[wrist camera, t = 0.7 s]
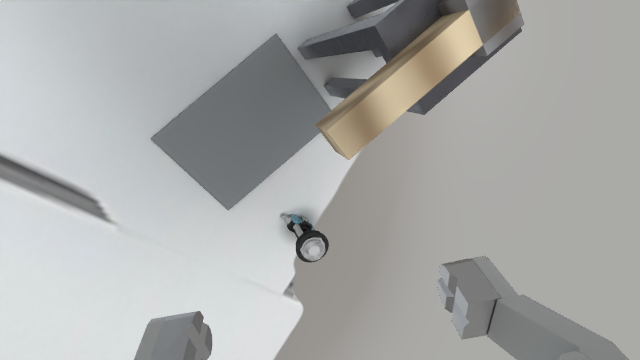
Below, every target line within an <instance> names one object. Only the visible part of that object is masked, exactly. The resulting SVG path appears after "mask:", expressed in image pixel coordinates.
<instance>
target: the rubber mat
mask: <svg viewBox="0 0 640 360" xmlns="http://www.w3.org/2000/svg"><path fill="white" fill-rule="evenodd" d="M330 111H331V109H330V108H329V107H328V105H327V104H326V102H325V101H324V100H323V98H322V97H321V95H320V94H319V93H318V91H317V90H316V88H315V87H314V86H313V84H312V83H311V81H310V80H309V79H308V77H307V76H306V74H305V73H304V72H303V70H302V69H301V67H300V66H299V65H298V63H297V62H296V60H295V59H294V58H293V56H292V55H291V53H290V52H289V51H288V49H287V48H286V46H285V45H284V44H283V42H282V41H281V39H280V38H279V37H278V35H277V34H275V35H274V36H273V37H272V38H270V39H269V40H268V41H267V42H266V43H264V44H263V45H262V46H261V47H260V48H259V49H257V50H256V51H255V52H254V53H253V54H251V55H250V56H249V57H248V58H247V59H245V60H244V61H243V62H242V63H241V64H239V65H238V66H237V67H236V68H235V69H233V70H232V71H231V72H230V73H229V74H227V75H226V76H225V77H224V78H223V79H222V80H220V81H219V82H218V83H217V84H216V85H214V86H213V87H212V88H211V89H210V90H208V91H207V92H206V93H205V94H204V95H202V96H201V97H200V98H199V99H198V100H196V101H195V102H194V103H193V104H192V105H190V106H189V107H188V108H187V109H186V110H185V111H183V112H182V113H181V114H180V115H179V116H177V117H176V118H175V119H174V120H173V121H171V122H170V123H169V124H168V125H167V126H165V127H164V128H163V129H162V130H161V131H159V132H158V133H157V134H156V135H155V136H153V137H152V138H151V140H152V141H153V142H154V143H155V144H156V145H158V146H159V147H160V148H161V149H162V150H163V151H164V152H165V153H166V154H167V155H168V156H169V157H171V158H172V159H173V160H174V161H175V162H176V163H177V164H178V165H179V166H180V167H181V168H183V169H184V170H185V171H186V172H187V173H188V174H189V175H190V176H191V177H192V178H193V179H194V180H196V181H197V182H198V183H199V184H200V185H201V186H202V187H203V188H204V189H205V190H206V191H208V192H209V193H210V194H211V195H212V196H213V197H214V198H215V199H216V200H217V201H218V202H219V203H221V204H222V205H223V206H224V207H225V208H226V209H227V210H229V209H231V208H232V207H233V206H234V205H235V204H237V203H238V202H239V201H240V200H241V199H242V198H244V197H245V196H246V195H247V194H248V193H249V192H251V191H252V190H253V189H254V188H255V187H256V186H258V185H259V184H260V183H261V182H262V181H264V180H265V179H266V178H267V177H268V176H269V175H271V174H272V173H273V172H274V171H275V170H276V169H278V168H279V167H280V166H281V165H282V164H283V163H285V162H286V161H287V160H288V159H289V158H290V157H292V156H293V155H294V154H295V153H296V152H298V151H299V150H300V149H301V148H302V147H303V146H305V145H306V144H307V143H308V142H309V141H310V140H312V139H313V138H314V137H315V136H316V135H317V134H319V133H320V130H319V129H318V128H317V126H316V125H315V124H316V123H318V122H319V121H320V120H321V119H322V118H323V117H325V116H326V115H327V114H328V113H329V112H330Z"/></svg>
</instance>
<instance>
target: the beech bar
mask: <svg viewBox="0 0 640 360" xmlns="http://www.w3.org/2000/svg"><path fill="white" fill-rule="evenodd" d="M438 7H439V9H440V11H441V14H442V17H441V18H440V19H439V20H437V21H436V22H435V23H434V24H433V25H432V26H430V27H429V28H428V29H427V30H426V31H425V32H423V33H422V34H421V35H420V36H419V37H417V38H416V39H415V40H414V41H413V42H412V43H410V44H409V45H408V46H407V47H406V48H405V49H403V50H402V51H401V52H400V53H399V54H397V55H396V56H395V57H394V58H393V59H392V60H390V61H389V62H388V63H387V64H386V65H385V66H383V67H382V68H381V69H380V70H379V71H377V72H376V73H375V74H374V75H373V76H372V77H370V78H369V79H368V80H367V81H366V82H365V83H363V84H362V85H361V86H360V87H359V88H358V89H356V90H355V91H354V92H353V93H352V94H350V95H349V96H348V97H347V98H346V99H345V100H343V101H342V102H341V103H340V104H339V105H338V106H336V107H335V108H334V109H333V110H332V111H330V112H329V113H328V114H327V115H326V116H325V117H323V118H322V119H321V120H320V121H319V122H318V123H316V124H315V125H316V126H317V128H318V129H319V130H320V132H321V133H322V134H323V136H324V137H325V138H326V139H327V141H328V142H329V143H330V145H331V146H332V147H333V149H334V150H335V151H336V152H337V153H339V154H340V155H342V156H343V157H345V158H346V159H348V160H349V159H351V158H352V157H353V156H354V155H355V154H356V153H358V152H359V151H360V150H361V149H362V148H363V147H365V146H366V145H367V144H368V143H369V142H370V141H371V140H373V139H374V138H375V137H376V136H377V135H379V134H380V133H381V132H382V131H383V130H384V129H386V128H387V127H388V126H389V125H390V124H391V123H393V121H395V120H396V119H397V118H398V117H399V116H401V115H402V114H403V113H404V112H405V111H407V110H408V109H409V108H410V107H411V106H412V105H414V104H415V103H416V102H417V101H418V100H419V99H421V98H422V97H423V96H424V95H425V94H426V93H428V92H429V91H430V90H431V89H432V88H433V87H435V86H436V85H437V84H438V83H439V82H440V81H441V80H443V79H444V78H445V77H446V76H447V75H448V74H450V73H451V72H452V71H453V70H454V69H455V68H457V67H458V66H459V65H460V64H461V63H462V62H464V61H465V60H466V59H467V58H468V57H477V56H488V55H489V54H490V53H491V52H492V51H494V50H495V49H496V48H497V47H498V46H499V45H501V44H502V43H503V42H504V41H505V40H506V39H508V38H509V37H510V36H511V35H512V34H513V33H515V32H516V31H517V30H518V29H519V28H520V27H522V26H523V25H524V21H523V19H522V15H521V12H520V9H519V6H518V3H517V0H443V1H442V2H440V3H439V4H438Z"/></svg>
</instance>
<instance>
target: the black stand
mask: <svg viewBox="0 0 640 360" xmlns="http://www.w3.org/2000/svg"><path fill="white" fill-rule="evenodd" d="M442 1H443V0H354V1H353V2H352V3H351V4H350V5H348V6H347V8H348V10H349V12H350V13H351V15H352V17H353V18H357V17H359V16H362V15H364V14H367V13H369V12H372V11H375V10H377V9H380V8H382V7H385V6H387V5H390V4H393V3H395V2H397V3H395V4H394V5H393V6H392V7H391V8H389V9H388V10H387V11H386V12H385V13H382V14H379V15H376V16H374V17H371V18H368V19H365V20H362V21H359V22H357V23H354V24H351V25H348V26H345V27H342V28H340V29H337V30H334V31H331V32H328V33H325V34H323V35H320V36H317V37H314V38H311V39H309V40H307V41H306V42H304V43H303V44H302V45H301V46H300V47H298V49H299V51H300V52H301V54H302V55H303V57H304V58H305V59H311V58H318V57H325V56H332V55H339V54H346V53H353V52H360V51H367V50H372V51H373V53H374V55H375V56H376V57H381V56H383V58H384V60H385V61H386V63H388V62H389V61H390V60H392V59H393V58H394V57H395V56H396V55H397V54H399V53H400V52H401V51H402V50H403V49H405V48H406V47H407V46H408V45H409V44H410V43H412V42H413V41H414V40H415V39H416V38H417V37H419V36H420V35H421V34H422V33H423V32H425V31H426V30H427V29H428V28H429V27H430V26H432V25H433V24H434V23H435V22H436V21H437V20H439V19H440V18H441V17H442V14H441V11H440V9H439V7H438V4H439V3H440V2H442ZM521 31H522V30H521V27H520V28H519V29H518V30H517V31H516V32H515V33H513V34H512V35H511V36H510V37H509V38H508V39H506V40H505V41H504V42H503V43H502V44H501V45H499V46H498V47H497V48H496V49H495V50H494V51H492V52H491V53H490V54H489V55H488V56H477V57H468V58H467V59H466V60H465V61H464V62H462V63H461V64H460V65H459V66H458V67H457V68H455V69H454V70H453V71H452V72H451V73H450V74H448V75H447V76H446V77H445V78H444V79H443V80H441V81H440V82H439V83H438V84H437V85H436V86H435V87H433V88H432V89H431V90H430V91H429V92H428V93H426V94H425V95H424V96H423V97H422V98H421V99H419V100H418V101H417V102H416V103H415V104H414V105H412V106H411V107H410V108H409V109H408V110H407V111H408V112H413V113H418V114H423V115H425V114H426V113H427V112H428V111H429V110H430V109H432V108H433V107H434V106H435V105H436V104H437V103H439V102H440V101H441V100H442V99H443V98H444V97H446V96H447V95H448V94H449V93H450V92H451V91H453V90H454V89H455V88H456V87H457V86H458V85H460V84H461V83H462V82H463V81H464V80H465V79H466V78H467V77H469V76H470V75H471V74H472V73H474V71H476V70H477V69H478V68H479V67H481V66H482V65H483V64H484V63H485V62H486V61H487V60H489V59H490V58H491V57H492V56H493V55H494V54H496V53H497V52H498V51H499V50H500V49H501V48H502V47H504V46H505V45H506V44H507V43H508V42H509V41H511V40H512V39H513V38H514V37H515V36H517V35H518V34H519V33H520V32H521ZM367 80H368V79H349V78H332V79H331V80H330V81H328V82H327V83H326V84H325V85H324V87H325V88H326V90H327V91H328V92H329V94H330V95H331V96H336V97H341V98H345V99H346V98H347V97H348V96H349V95H350V94H352V93H353V92H354V91H355V90H356V89H358V88H359V87H360V86H361V85H362V84H363V83H365V82H366V81H367Z"/></svg>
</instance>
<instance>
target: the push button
mask: <svg viewBox="0 0 640 360" xmlns="http://www.w3.org/2000/svg"><path fill="white" fill-rule="evenodd" d="M281 218H282V220H284V219H285V220H284V221H286V223H288V225H287V228H288V229H289V230H290V231H292V232H294V233H295V235H296V237H297V238H298V239H297V241H296V253H297V255H298V257H299V258H300V259H301V260H302V261H305V262H315V261H318V260H320V259H321V258H322V257H323V256H324V255H325V254H326V252H327V250H328V246H329V244H328V240H327V238H326V237H325V235H323V234H322V233H320V232H319V231H315V229H314V228H313V226H312V225H311V224H310V223H308V220H307V219H306V218H305V217H303V216H302V218H303V220H302V219H300V218H298V217H296V216H295V215H293V214H292V215H291V216H289V215H288V216H287V215H285V214H282V216H281ZM320 237H321V238H322V240H321V239H320ZM300 248H301V251H300Z"/></svg>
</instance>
